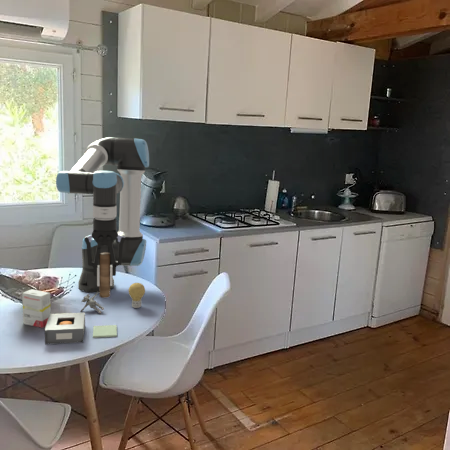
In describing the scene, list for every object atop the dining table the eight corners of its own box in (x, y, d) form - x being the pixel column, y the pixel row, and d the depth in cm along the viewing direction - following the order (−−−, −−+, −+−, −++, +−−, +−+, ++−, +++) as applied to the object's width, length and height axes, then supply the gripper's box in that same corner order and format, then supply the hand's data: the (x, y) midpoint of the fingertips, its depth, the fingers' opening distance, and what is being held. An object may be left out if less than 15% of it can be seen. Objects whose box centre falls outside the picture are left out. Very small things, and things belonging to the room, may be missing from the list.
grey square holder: (49, 327, 172) (49, 313, 171) (85, 325, 175) (84, 312, 174) (45, 344, 160) (44, 330, 158) (83, 342, 162) (83, 328, 161)
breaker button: (60, 329, 168) (60, 321, 168) (72, 328, 169) (72, 320, 169) (59, 334, 165) (59, 326, 164) (71, 333, 166) (71, 325, 165)
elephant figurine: (90, 318, 181) (73, 305, 184) (95, 324, 186) (78, 311, 189) (109, 298, 185) (92, 285, 188) (112, 303, 190) (96, 291, 193)
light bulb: (141, 311, 190) (141, 287, 187) (125, 309, 191) (126, 285, 189) (147, 305, 196) (147, 281, 193) (132, 303, 197) (132, 279, 195)
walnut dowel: (99, 294, 169) (99, 252, 165) (110, 293, 169) (110, 252, 166) (99, 298, 165) (99, 255, 162) (110, 297, 166) (110, 255, 163)
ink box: (52, 323, 175) (51, 292, 173) (42, 328, 171) (41, 296, 168) (32, 318, 178) (31, 288, 175) (22, 323, 173) (21, 292, 171)
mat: (93, 327, 174) (93, 326, 173) (116, 326, 175) (116, 324, 175) (92, 337, 166) (92, 336, 166) (116, 336, 168) (116, 334, 168)
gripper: (78, 220, 156) (78, 289, 161) (130, 220, 160) (129, 287, 165) (79, 215, 163) (80, 281, 168) (129, 215, 167) (129, 280, 172)
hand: (104, 284), depth 166 cm, fingers closed on walnut dowel, 3 cm apart
